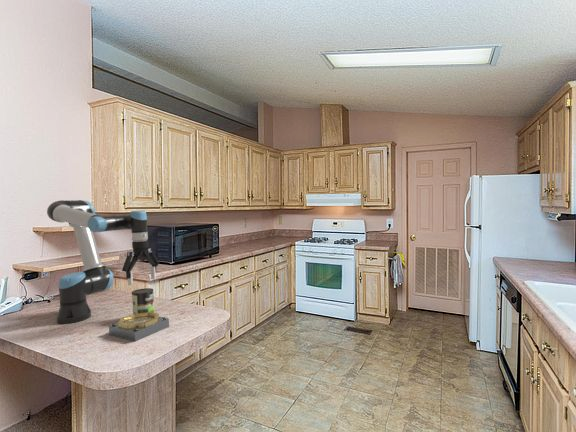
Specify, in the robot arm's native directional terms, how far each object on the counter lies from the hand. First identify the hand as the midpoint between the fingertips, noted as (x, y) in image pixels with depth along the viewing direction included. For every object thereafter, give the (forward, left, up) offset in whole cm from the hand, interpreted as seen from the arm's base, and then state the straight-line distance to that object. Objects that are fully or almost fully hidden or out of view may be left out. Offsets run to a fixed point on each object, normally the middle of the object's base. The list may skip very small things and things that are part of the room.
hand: (142, 281), depth 167 cm
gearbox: (+14, -13, -19) cm, 27 cm away
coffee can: (0, 0, -19) cm, 19 cm away
